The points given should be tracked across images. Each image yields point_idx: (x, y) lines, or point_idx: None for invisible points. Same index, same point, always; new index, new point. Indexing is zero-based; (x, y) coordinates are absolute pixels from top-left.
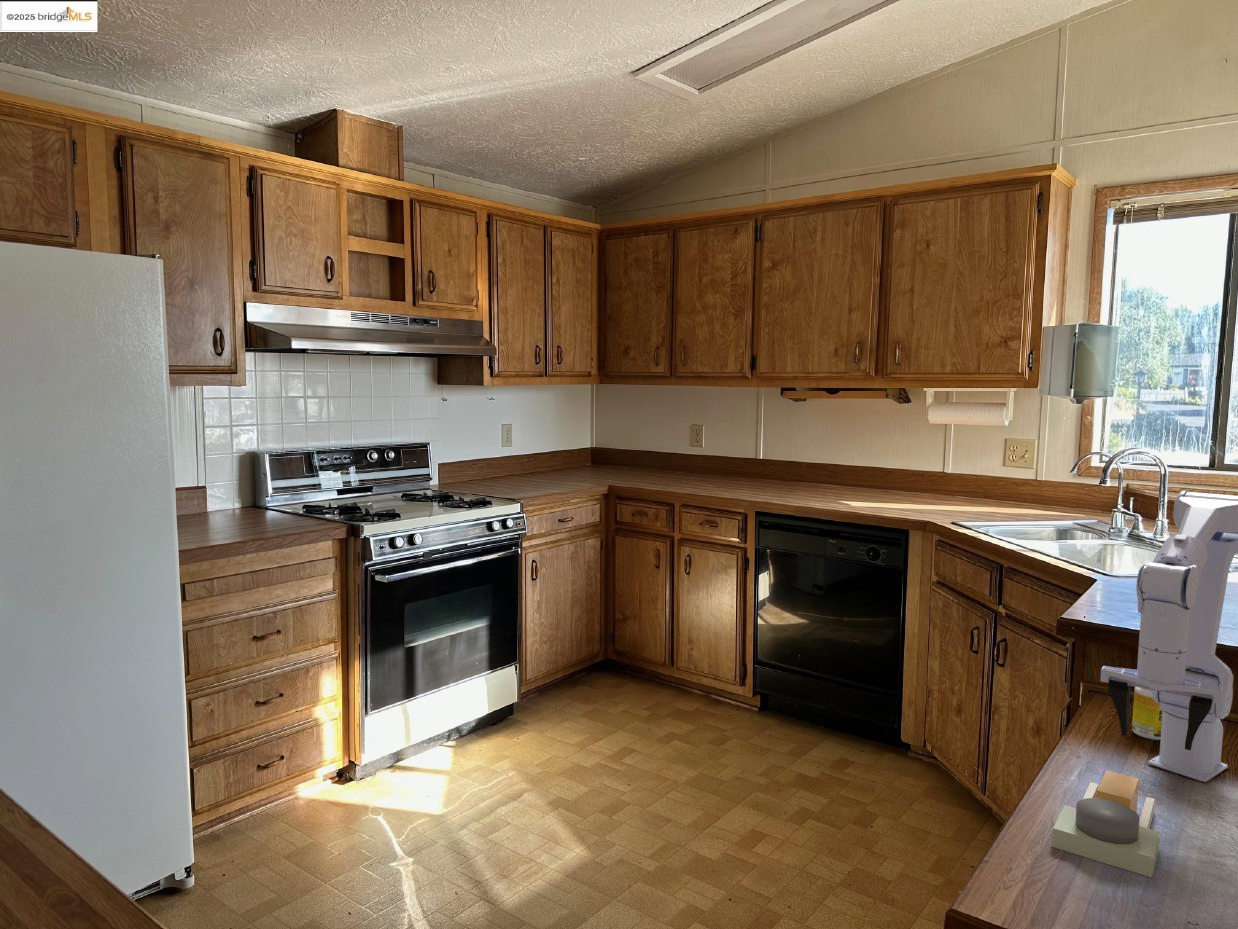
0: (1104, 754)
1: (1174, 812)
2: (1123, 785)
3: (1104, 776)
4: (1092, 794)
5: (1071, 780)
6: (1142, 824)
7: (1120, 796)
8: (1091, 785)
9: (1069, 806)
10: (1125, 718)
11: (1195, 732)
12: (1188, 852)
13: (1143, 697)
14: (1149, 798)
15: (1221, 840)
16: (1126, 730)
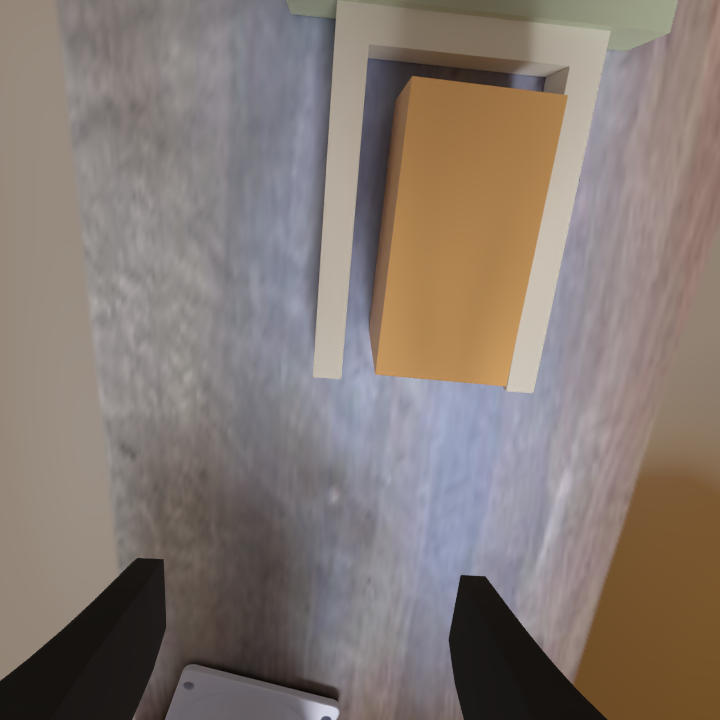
0: (459, 704)
1: (255, 402)
2: (441, 248)
3: (519, 308)
4: (532, 276)
5: (567, 463)
6: (351, 75)
7: (459, 83)
8: (531, 364)
9: (650, 27)
10: (508, 656)
11: (47, 644)
12: (193, 74)
13: None
14: (331, 367)
15: (105, 263)
16: (472, 596)
